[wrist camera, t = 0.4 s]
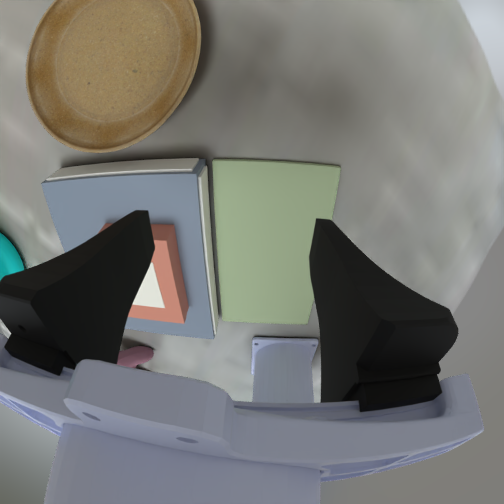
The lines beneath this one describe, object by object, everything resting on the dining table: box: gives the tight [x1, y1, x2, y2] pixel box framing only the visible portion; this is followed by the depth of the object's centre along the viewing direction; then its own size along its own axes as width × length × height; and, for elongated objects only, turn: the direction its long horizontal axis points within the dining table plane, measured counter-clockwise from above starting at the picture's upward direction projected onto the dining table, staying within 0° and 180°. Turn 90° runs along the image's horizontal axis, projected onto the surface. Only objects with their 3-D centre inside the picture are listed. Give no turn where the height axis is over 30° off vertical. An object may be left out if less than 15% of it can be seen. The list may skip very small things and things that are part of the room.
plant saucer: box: [26, 0, 201, 153], centre depth 14 cm, size 15×15×3 cm
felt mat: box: [212, 159, 341, 325], centre depth 25 cm, size 18×9×1 cm, turn 179°
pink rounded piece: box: [117, 346, 154, 371], centre depth 37 cm, size 10×5×7 cm, turn 161°
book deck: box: [41, 158, 219, 339], centre depth 24 cm, size 18×14×3 cm
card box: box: [98, 223, 189, 324], centre depth 22 cm, size 9×6×2 cm, turn 179°
